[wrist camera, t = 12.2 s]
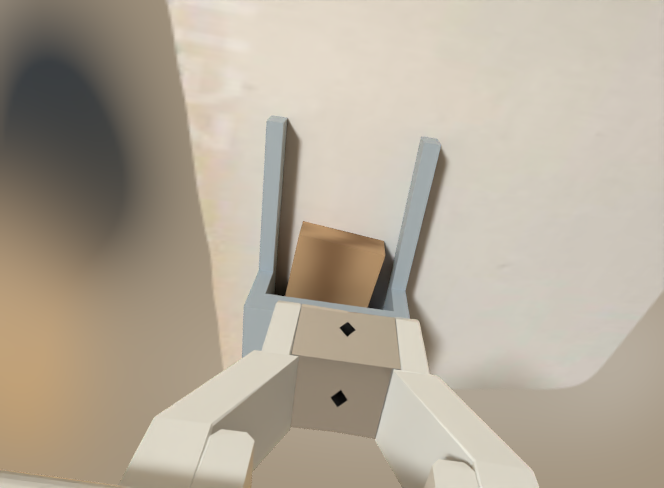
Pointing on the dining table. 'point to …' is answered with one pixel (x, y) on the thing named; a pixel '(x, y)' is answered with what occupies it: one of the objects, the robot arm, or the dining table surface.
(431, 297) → the dining table surface
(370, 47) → the dining table surface
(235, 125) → the dining table surface
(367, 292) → the tan cardboard slab
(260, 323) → the grey u-shaped frame
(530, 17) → the dining table surface
